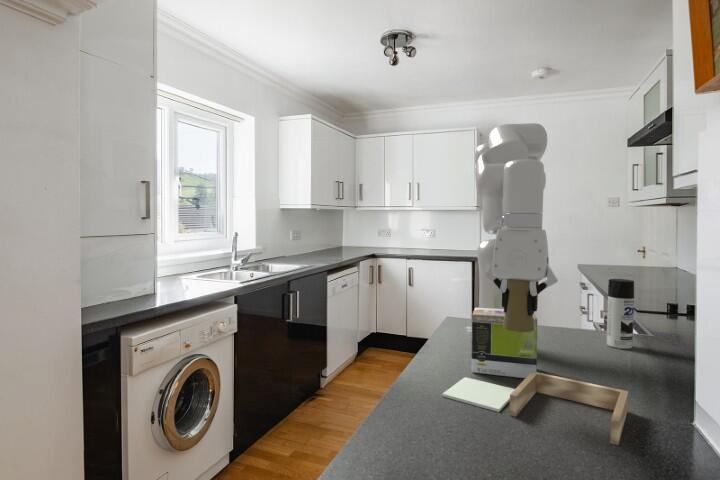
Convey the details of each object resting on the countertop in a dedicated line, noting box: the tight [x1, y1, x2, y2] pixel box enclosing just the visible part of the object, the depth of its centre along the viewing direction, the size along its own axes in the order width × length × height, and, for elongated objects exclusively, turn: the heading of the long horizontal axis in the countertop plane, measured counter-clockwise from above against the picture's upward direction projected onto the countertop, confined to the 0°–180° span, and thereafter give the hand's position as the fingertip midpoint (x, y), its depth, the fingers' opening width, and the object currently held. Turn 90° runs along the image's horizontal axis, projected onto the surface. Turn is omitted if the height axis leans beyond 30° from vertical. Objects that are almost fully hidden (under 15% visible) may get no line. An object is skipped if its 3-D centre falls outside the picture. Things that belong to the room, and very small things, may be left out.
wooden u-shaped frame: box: [509, 371, 629, 446], centre depth 83 cm, size 18×16×4 cm
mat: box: [441, 376, 516, 413], centre depth 92 cm, size 12×12×1 cm
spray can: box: [606, 278, 635, 350], centre depth 127 cm, size 7×7×20 cm
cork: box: [503, 279, 534, 332], centre depth 87 cm, size 6×6×11 cm
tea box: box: [470, 307, 538, 379], centre depth 106 cm, size 15×10×15 cm
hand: (519, 311), depth 87 cm, fingers closed on cork, 3 cm apart
